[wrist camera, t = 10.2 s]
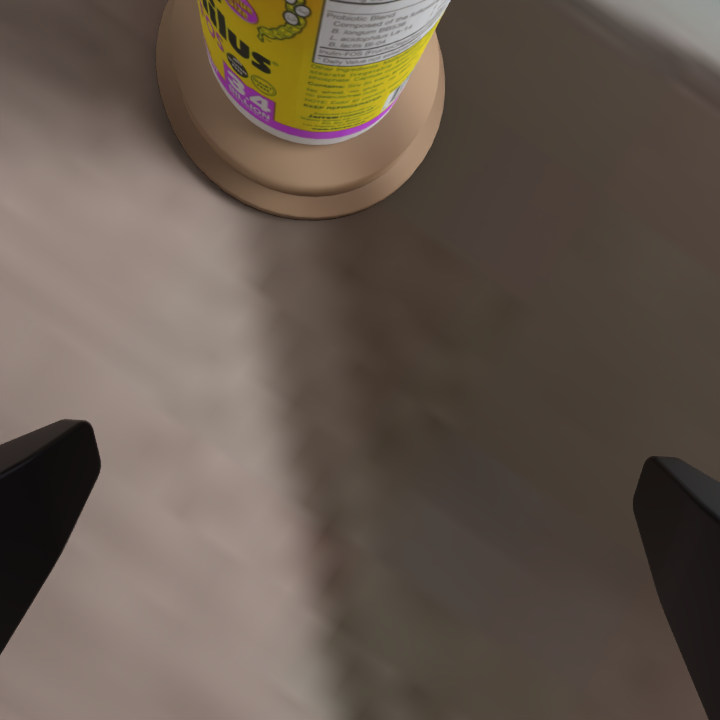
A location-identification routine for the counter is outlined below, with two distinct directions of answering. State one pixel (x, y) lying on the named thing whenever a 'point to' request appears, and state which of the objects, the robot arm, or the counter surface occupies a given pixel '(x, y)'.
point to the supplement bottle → (316, 60)
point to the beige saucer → (282, 157)
